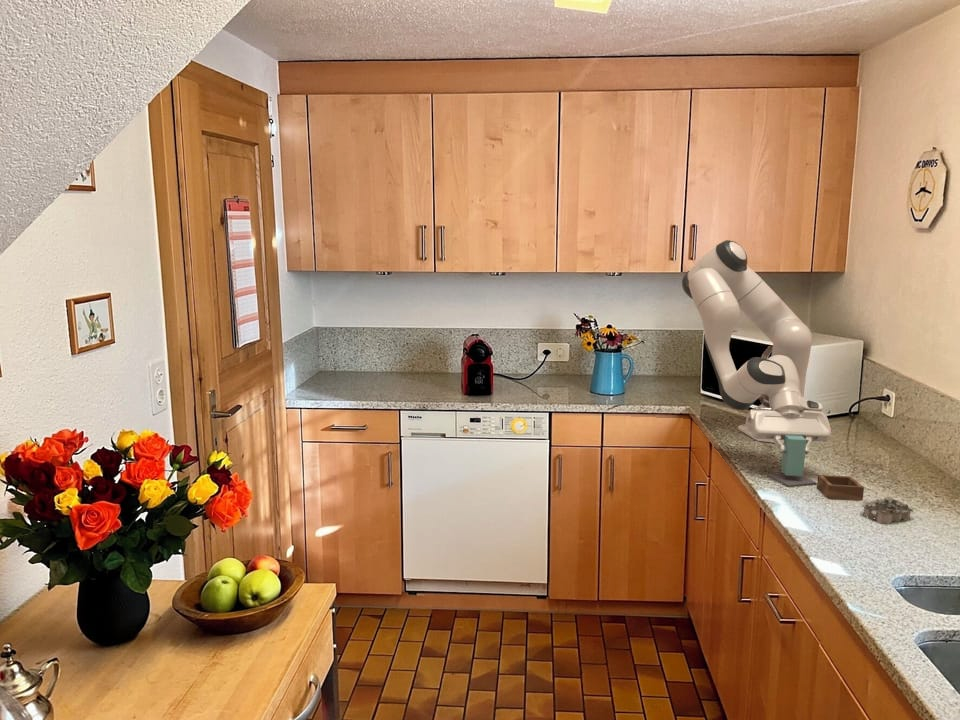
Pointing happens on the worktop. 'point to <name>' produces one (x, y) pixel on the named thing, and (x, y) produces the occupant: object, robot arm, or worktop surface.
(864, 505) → the egg carton
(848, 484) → the pocket holder
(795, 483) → the rubber mat
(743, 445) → the worktop surface
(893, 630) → the worktop surface
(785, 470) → the teal block
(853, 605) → the worktop surface
